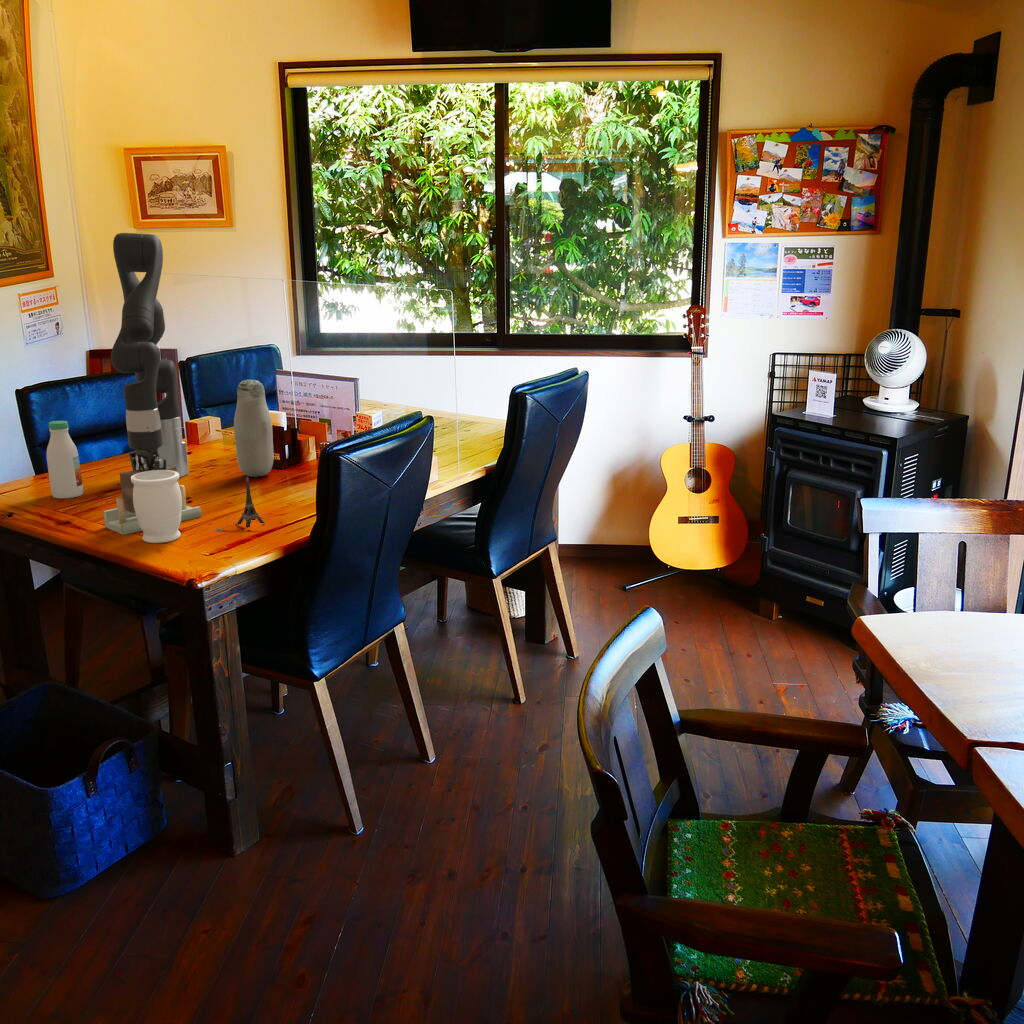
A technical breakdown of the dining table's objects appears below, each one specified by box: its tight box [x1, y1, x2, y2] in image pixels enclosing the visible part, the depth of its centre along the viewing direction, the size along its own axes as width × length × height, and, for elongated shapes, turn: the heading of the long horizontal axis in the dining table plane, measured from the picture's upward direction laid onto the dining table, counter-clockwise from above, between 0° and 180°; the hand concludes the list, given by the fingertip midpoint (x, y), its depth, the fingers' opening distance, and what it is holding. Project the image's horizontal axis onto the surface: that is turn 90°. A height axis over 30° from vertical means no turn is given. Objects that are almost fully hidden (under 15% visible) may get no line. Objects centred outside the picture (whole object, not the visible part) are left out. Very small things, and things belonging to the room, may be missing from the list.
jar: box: [131, 470, 182, 544], centre depth 210 cm, size 11×10×15 cm
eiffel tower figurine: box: [214, 476, 265, 532], centre depth 220 cm, size 15×10×13 cm
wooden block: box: [119, 464, 179, 513], centre depth 222 cm, size 12×5×9 cm, turn 138°
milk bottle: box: [46, 420, 84, 500], centre depth 243 cm, size 8×8×20 cm
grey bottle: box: [233, 379, 275, 478], centre depth 263 cm, size 10×10×28 cm
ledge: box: [103, 484, 202, 536], centre depth 223 cm, size 20×9×8 cm, turn 138°
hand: (151, 496), depth 222 cm, fingers closed on wooden block, 4 cm apart
